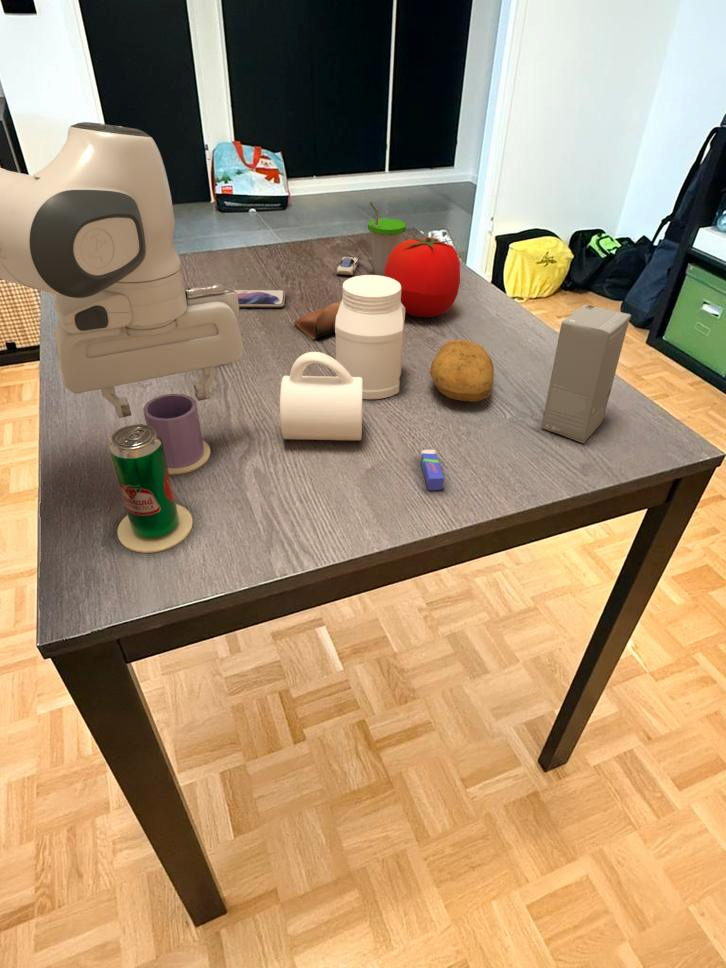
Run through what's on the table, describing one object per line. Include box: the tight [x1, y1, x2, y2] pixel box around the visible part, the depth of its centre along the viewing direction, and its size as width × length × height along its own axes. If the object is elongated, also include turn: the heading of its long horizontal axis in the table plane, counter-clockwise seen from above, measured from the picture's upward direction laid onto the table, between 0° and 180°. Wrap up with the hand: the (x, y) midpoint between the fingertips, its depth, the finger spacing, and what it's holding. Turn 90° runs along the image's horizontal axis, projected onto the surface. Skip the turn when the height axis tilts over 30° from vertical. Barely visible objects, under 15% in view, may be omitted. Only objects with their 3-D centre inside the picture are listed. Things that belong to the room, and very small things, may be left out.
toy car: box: [336, 256, 359, 277], centre depth 134 cm, size 4×12×3 cm, turn 171°
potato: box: [429, 339, 495, 402], centre depth 92 cm, size 9×13×7 cm
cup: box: [367, 201, 407, 276], centre depth 127 cm, size 8×8×15 cm
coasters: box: [117, 440, 212, 554], centre depth 74 cm, size 12×21×1 cm, turn 20°
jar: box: [334, 274, 406, 400], centre depth 91 cm, size 12×10×15 cm
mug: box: [279, 351, 363, 441], centre depth 80 cm, size 8×10×12 cm
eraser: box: [419, 449, 445, 491], centre depth 77 cm, size 2×6×2 cm, turn 4°
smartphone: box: [225, 289, 286, 309], centre depth 119 cm, size 7×1×15 cm
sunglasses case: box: [294, 300, 342, 340], centre depth 112 cm, size 18×7×7 cm, turn 128°
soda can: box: [108, 423, 179, 539], centre depth 65 cm, size 5×5×12 cm
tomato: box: [384, 236, 461, 319], centre depth 113 cm, size 16×14×14 cm
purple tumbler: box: [142, 393, 204, 468], centre depth 77 cm, size 6×6×7 cm
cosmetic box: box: [540, 304, 632, 444], centre depth 83 cm, size 8×7×16 cm
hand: (164, 406), depth 75 cm, fingers open, 8 cm apart
